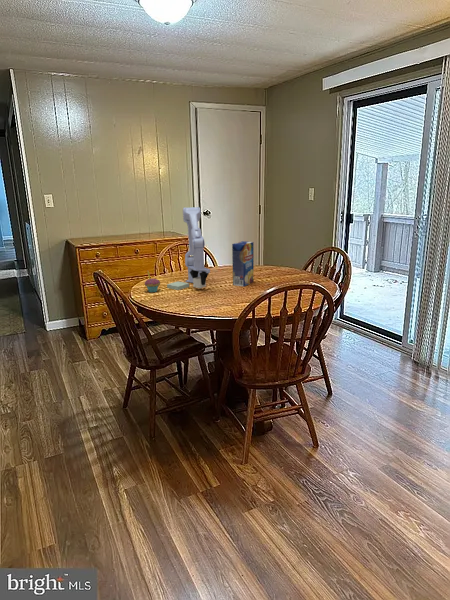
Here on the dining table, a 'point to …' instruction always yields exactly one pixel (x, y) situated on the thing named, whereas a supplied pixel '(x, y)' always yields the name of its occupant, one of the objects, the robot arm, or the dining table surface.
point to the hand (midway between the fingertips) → (199, 284)
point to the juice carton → (243, 263)
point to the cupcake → (152, 284)
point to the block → (198, 283)
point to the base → (178, 285)
